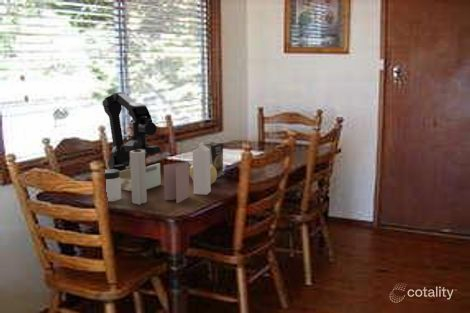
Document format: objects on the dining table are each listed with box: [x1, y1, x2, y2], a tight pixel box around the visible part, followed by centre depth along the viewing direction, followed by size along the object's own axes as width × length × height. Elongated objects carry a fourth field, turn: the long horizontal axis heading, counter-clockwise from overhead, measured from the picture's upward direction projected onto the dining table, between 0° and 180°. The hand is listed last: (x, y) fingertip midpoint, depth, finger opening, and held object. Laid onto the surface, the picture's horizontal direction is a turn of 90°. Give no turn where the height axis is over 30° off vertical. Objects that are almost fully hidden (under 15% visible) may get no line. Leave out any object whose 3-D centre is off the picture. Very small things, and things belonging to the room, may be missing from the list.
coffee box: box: [203, 142, 224, 178], centre depth 287 cm, size 9×6×16 cm
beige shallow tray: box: [119, 167, 132, 192], centre depth 268 cm, size 14×16×7 cm
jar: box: [104, 168, 122, 202], centre depth 246 cm, size 9×8×12 cm
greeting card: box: [163, 161, 190, 204], centre depth 243 cm, size 11×7×15 cm, turn 123°
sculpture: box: [189, 163, 218, 185], centre depth 271 cm, size 12×12×11 cm
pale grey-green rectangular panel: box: [145, 162, 162, 190], centre depth 264 cm, size 1×15×10 cm, turn 150°
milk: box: [192, 141, 212, 196], centre depth 254 cm, size 6×6×22 cm
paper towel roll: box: [129, 150, 148, 206], centre depth 239 cm, size 7×6×21 cm
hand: (141, 167), depth 266 cm, fingers closed
